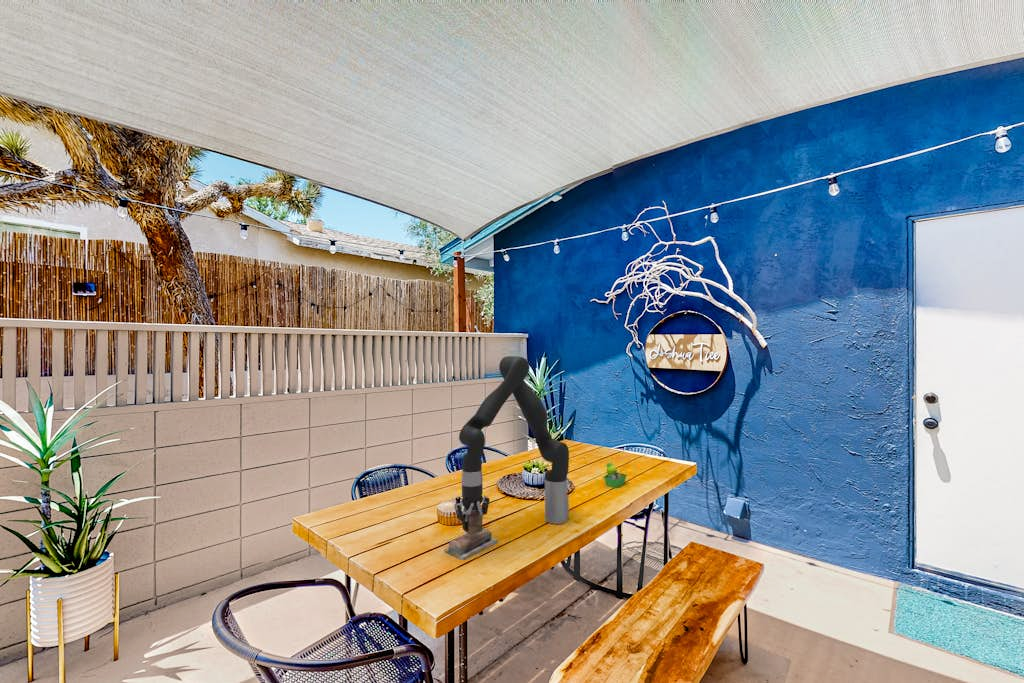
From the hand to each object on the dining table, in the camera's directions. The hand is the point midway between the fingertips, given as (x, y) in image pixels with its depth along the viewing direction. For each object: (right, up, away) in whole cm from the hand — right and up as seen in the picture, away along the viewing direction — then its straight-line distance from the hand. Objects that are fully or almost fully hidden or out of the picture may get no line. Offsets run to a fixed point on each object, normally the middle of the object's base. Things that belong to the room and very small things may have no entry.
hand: (472, 528), depth 157 cm
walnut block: (0, -1, 0) cm, 1 cm away
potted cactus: (+68, -7, +69) cm, 97 cm away
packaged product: (0, -8, +1) cm, 8 cm away
